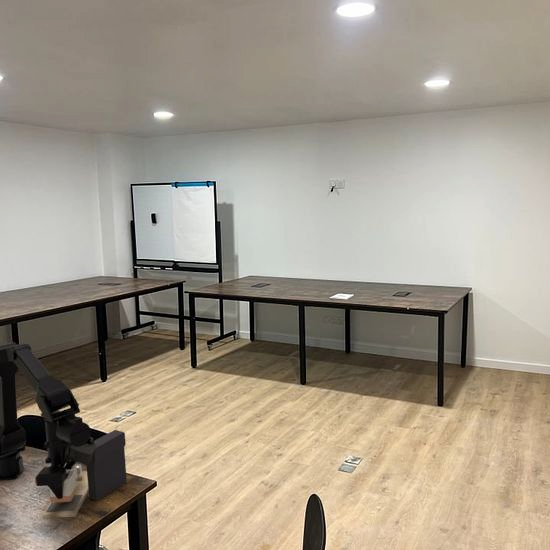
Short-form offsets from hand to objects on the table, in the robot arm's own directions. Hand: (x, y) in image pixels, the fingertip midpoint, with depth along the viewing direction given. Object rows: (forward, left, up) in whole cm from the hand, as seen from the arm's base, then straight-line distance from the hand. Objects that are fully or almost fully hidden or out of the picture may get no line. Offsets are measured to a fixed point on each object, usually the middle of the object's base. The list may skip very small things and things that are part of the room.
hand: (63, 492), depth 139 cm
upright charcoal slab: (+9, +7, -4) cm, 12 cm away
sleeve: (0, 0, -1) cm, 1 cm away
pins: (0, +6, -4) cm, 7 cm away
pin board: (0, +6, -4) cm, 7 cm away
